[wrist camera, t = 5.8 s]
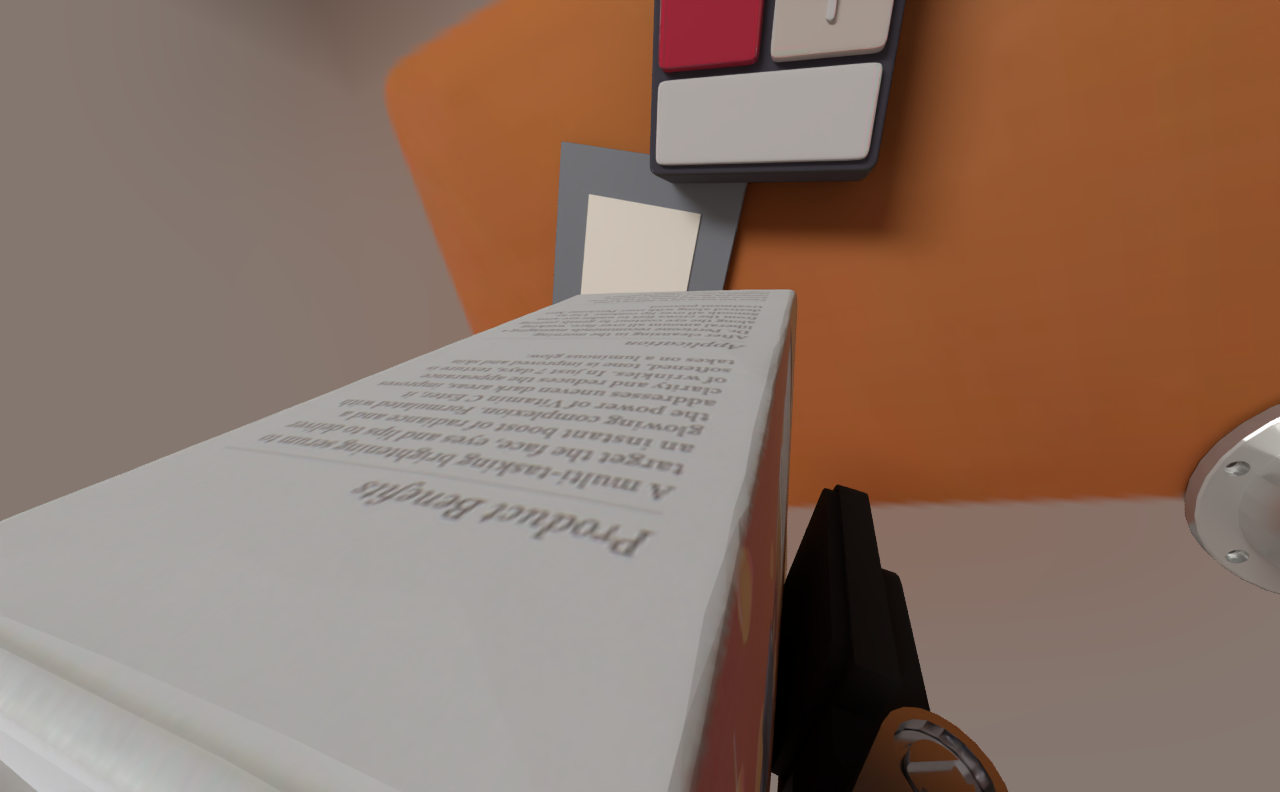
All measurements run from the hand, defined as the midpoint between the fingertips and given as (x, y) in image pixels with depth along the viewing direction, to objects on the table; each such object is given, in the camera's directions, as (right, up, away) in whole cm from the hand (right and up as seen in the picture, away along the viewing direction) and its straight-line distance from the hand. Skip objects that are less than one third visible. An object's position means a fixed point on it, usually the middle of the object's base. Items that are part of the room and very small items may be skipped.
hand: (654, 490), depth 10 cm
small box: (+1, +1, +3) cm, 3 cm away
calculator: (+7, +21, +13) cm, 26 cm away
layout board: (-1, +10, +21) cm, 23 cm away
